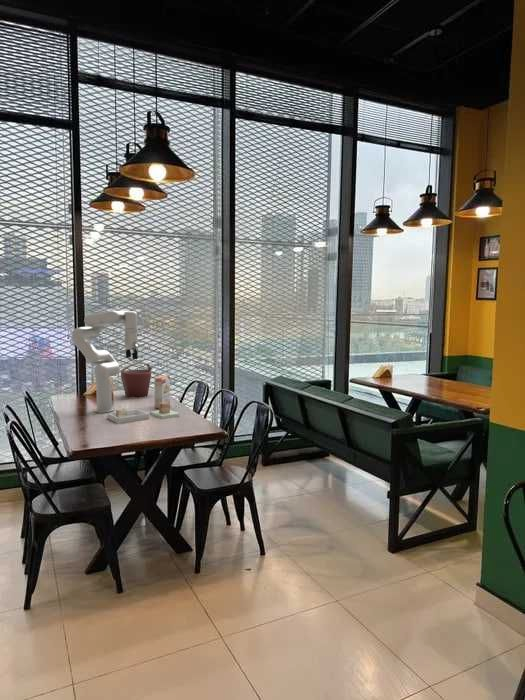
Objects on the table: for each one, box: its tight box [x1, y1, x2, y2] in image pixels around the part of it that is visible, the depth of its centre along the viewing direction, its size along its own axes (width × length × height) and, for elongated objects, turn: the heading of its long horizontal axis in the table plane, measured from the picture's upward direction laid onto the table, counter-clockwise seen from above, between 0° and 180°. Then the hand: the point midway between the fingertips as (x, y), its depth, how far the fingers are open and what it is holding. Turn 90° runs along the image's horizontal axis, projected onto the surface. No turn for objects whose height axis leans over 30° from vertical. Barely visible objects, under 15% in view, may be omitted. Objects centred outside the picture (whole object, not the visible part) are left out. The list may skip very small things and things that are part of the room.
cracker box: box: [153, 374, 171, 410], centre depth 339 cm, size 14×6×21 cm, turn 168°
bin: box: [107, 408, 150, 424], centre depth 305 cm, size 16×20×4 cm
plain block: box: [115, 408, 128, 418], centre depth 302 cm, size 5×5×6 cm
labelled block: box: [158, 402, 171, 414], centre depth 314 cm, size 5×5×6 cm
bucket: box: [120, 362, 153, 399], centre depth 376 cm, size 24×22×25 cm
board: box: [149, 409, 180, 419], centre depth 315 cm, size 16×12×2 cm
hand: (131, 358), depth 313 cm, fingers open, 9 cm apart
